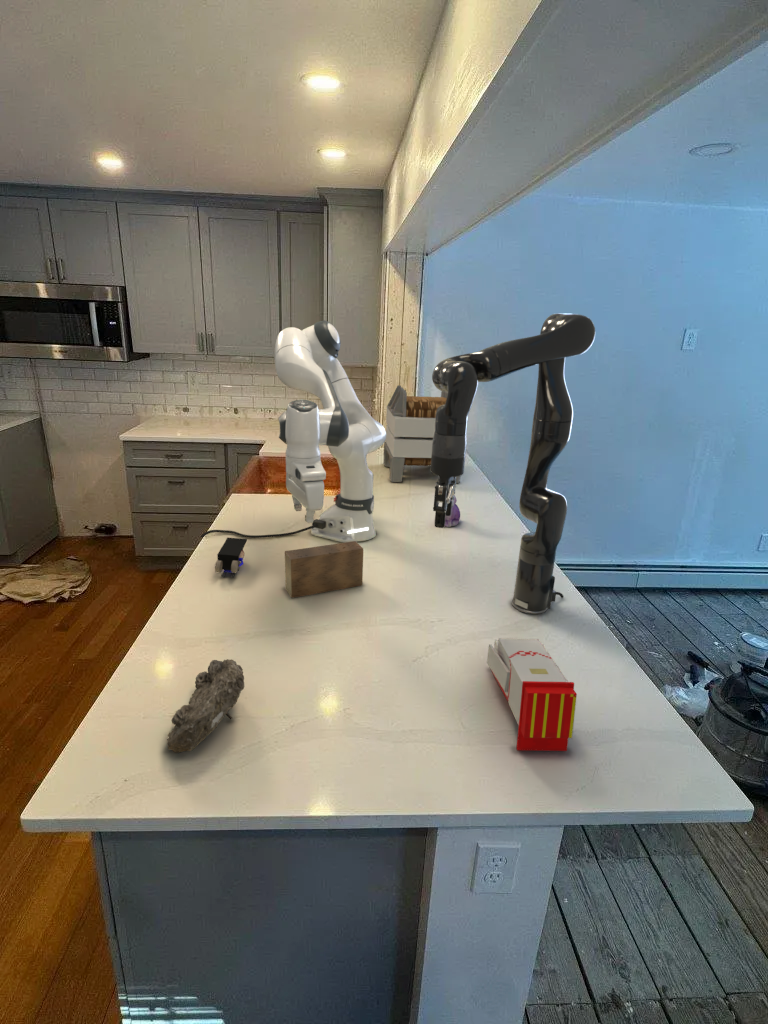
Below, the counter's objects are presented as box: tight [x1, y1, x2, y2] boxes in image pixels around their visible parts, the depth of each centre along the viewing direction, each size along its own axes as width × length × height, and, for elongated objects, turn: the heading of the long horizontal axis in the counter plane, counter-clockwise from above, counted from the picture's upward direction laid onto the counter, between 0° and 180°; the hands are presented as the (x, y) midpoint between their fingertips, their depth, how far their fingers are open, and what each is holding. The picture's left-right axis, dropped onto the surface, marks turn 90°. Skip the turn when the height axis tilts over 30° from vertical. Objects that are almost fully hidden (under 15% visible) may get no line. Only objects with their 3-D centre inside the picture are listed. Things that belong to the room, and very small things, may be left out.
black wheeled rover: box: [214, 537, 248, 578], centre depth 166 cm, size 7×8×15 cm
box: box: [284, 541, 364, 599], centre depth 158 cm, size 21×6×12 cm, turn 116°
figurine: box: [444, 494, 461, 528], centre depth 209 cm, size 9×10×15 cm
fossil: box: [166, 658, 245, 754], centre depth 106 cm, size 22×10×15 cm
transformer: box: [383, 384, 461, 484], centre depth 268 cm, size 34×33×41 cm
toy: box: [486, 637, 578, 752], centre depth 114 cm, size 12×13×30 cm
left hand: (303, 516), depth 150 cm, fingers open, 8 cm apart
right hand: (442, 520), depth 131 cm, fingers open, 8 cm apart
